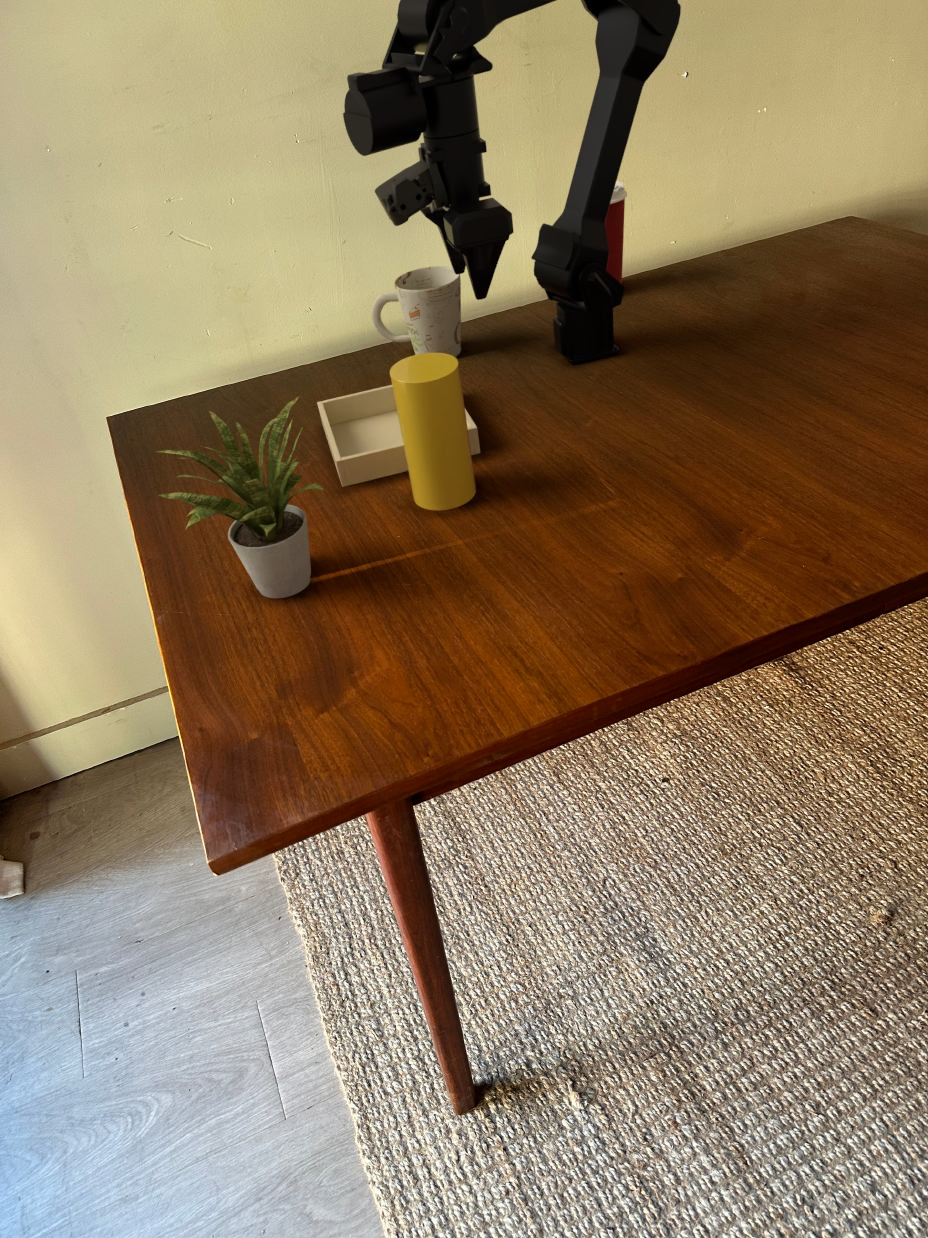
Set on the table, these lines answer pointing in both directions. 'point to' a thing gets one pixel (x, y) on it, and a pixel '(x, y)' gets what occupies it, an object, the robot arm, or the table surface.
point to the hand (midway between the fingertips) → (470, 285)
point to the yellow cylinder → (434, 430)
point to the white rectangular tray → (369, 435)
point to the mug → (426, 310)
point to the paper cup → (616, 231)
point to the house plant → (258, 508)
